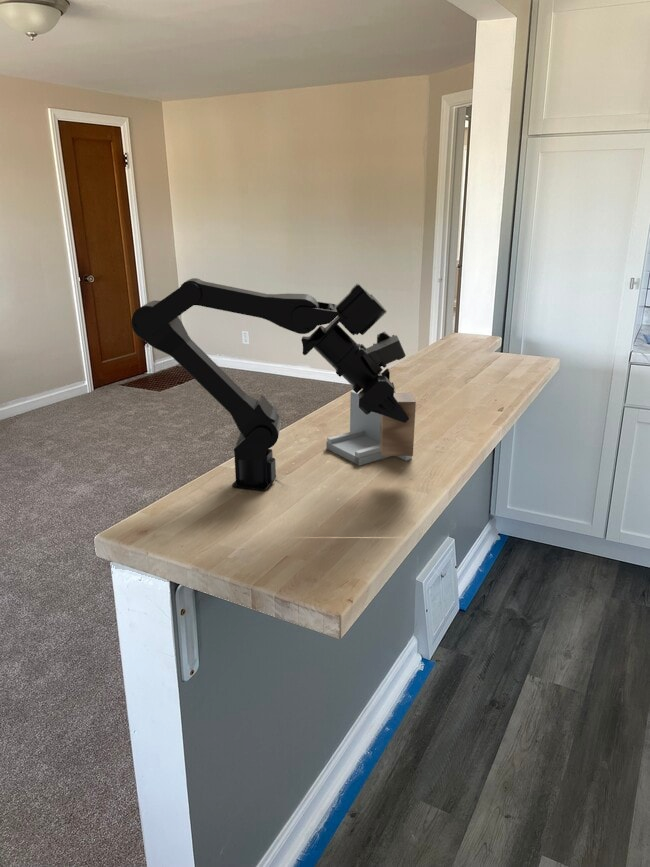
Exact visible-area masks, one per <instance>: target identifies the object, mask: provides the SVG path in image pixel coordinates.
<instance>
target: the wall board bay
mask: <svg viewBox="0 0 650 867" xmlns="http://www.w3.org/2000/svg"><path fill="white" fill-rule="evenodd" d="M360 391H361V390H360ZM360 391H359V392H360ZM359 392H358V393H359ZM358 393H356V392H355V391H354V390H351V391H350V401H349V402H350V406H349V407H350V409H349V410H350V413H349V414H350V415H349V416H350V418H349V431H348V432H345V433H341V434H337V435H334V436H329V437H327V439H326V444H325V445H326V446H325V447H326V449H327V450H328V451H330V452H331V453H334V454H335V455H338V456H340V457H343V459H346V460H348V461H350V462H351V463H353V464H356V465H357V466H359V467H360V466H362V465H366V464H370V463H373V462H376V461H380V460H383V459H387V458H389V457H390V458H391V456H382V455H381V450H380V445H379V443H380V414H378V413H375V412H370V413H369V414H367V415H366V414H365V413H364V412H363V411H362V410H361V409H360V408H359V406H358ZM396 457H397V458H399V459H401V460H404V461H405V462H407V461H409V460H412V459H413V456H396Z"/></svg>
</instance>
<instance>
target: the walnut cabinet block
mask: <svg viewBox="0 0 650 867" xmlns="http://www.w3.org/2000/svg"><path fill="white" fill-rule="evenodd" d="M394 397H395V398H396V400H397V401H398V403H399V404H400V406H401V407H402V409H403V410H404V411H405V413H406V414H407V416H408V417H409V420H408V421H407V422H405V423H404V422H401V421H398V420H395V419H393V418H390V417H387V416H384V415H381V414H380V443H379V445H380V450H381V455H382V456H390V457H397V456H412V457H413V456H414V443H415V442H414V441H415V440H414V439H415V424H416V409H417V408H416V406H417V402H416V399H415V397H414V394H413V392H396V393H394Z"/></svg>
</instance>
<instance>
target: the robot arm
mask: <svg viewBox="0 0 650 867" xmlns="http://www.w3.org/2000/svg"><path fill="white" fill-rule="evenodd" d="M194 306H198V307H204V308H209V309H215V310H217V311H218V310H219V311H223V312H224V311H225V312H230V313H235V314H240V315H244V316H249V317H254V318H255V317H256V318H259V319H263V320H266V321H269V322H270V323H272V324H274V325H277V326H278V327H280V328H282V329H285V330H287V331H290V332H293V333H295V334H299V335H303V336H302V337H301V343H302V355H303V356H307V355H308V354H309V353H310V352H311V351H312V350H313V349H314V350H315V351H316V352H318V354H319V355H321V357H322V358H324V360H325V361H326V362H327V363H328V364H330V365H331V367H332V368H333V369H334V370H335V374H336V375H337V376H339V377H340V378H341V377H342V378H344V379H345V380H346V382H348V383H349V384H350V385H351V386H352V391H355V392H356V393H358V392H359V391H360V392H359V393H358V406H359V408H360V409H361V410H362V411H363V412H364V413H365V414H366V415H367V414H369V413H370V412H375V413H378V414H381V415H384V416H387V417H390V418H393V419H395V420H398V421H401V422H404V423H405V422H407V421H408V420H409V417H408V416H407V414H406V413H405V411H404V410H403V409H402V407H401V406H400V404H399V403H398V401H397V400H396V398H395V397H394V393H397V392H396V391H395V385H394V382H391V380H390V377H391V376H390V370H389V368H387V365H388V364H391V363H393V362H395V361H401V360H402V359H404V358H405V357H406V353H405V351H404V348H403V346H402V343H401V341H400V339H399V336H398V335H395V334H391V335H389V334H388V333H387V332H386V331H383V332H380V333H378V334H377V335H376V343H374V342H373V343H372V345H371V346H369V347H366V346H364V344H363V343H361V344H360V343H357V342H356V341H355V340H354V338H352V337H351V336H350V335H349V334H348V332H349V333H350V334H351V335H352V336H355V335H356V336H358V335H359V334H360V335H361V336H363V335H365V334H366V333H367V332H368V331H369V330H370V329H371V328H372V327H373V326H374V325H375V324H376V323H377V322H378V321H379V320H380V319H381V318H382V317H383V316H385V314H387V309H386V308H385V307H384V306H383V305H382V304H381V303H380V302H379V300H378V299H377V298H376V297H375V296H374V295H373V294H372V293H371V294H370V293H369V291H367V289H365V288H363V286H361V284H360V283H355V285H354V286H353V287H352V288H351V289H350V291H349V293H347V295H346V296H345V297H343V299H341V300H340V301H339V303H331V302H323V301H317V299H316V298H315V297H314V296H313V295H310V294H307V293H275V294H273V293H264V292H259V291H253V290H249V289H244V288H239V287H235V286H228V285H226V284H225V285H224V284H223V285H222V284H218V283H214V282H209V281H205V280H201V279H200V278H197V277H195V278H193V277H192V278H190V279H188V280H186V281H185V282H183V283H182V284H180V286H179V287H178V288H177V289H175V290H174V291H172V292H171V293H170V294H169V295H167V296H166V297H164V298H163V299H161V300H151V301H149V302H147V303H146V304H144V305H142V306H140V307H138V308H137V309H136V310H135V311H134V312H133V313H132V315H131V316H132V317H131V328H132V331H133V333H134V334H135V335H136V336H137V337H138V338H139V339H141V340H143V341H144V342H145V343H147V344H148V345H149V346H151V347H152V348H153V349H155V350H158V351H160V352H162V353H164V354H167V355H168V356H170V357H171V358H172V359H174V361H176V362H177V363H178V364H179V365H180V366H181V367H182V368H183V370H185V371H186V372H187V373H188V374H189V375H190V376H191V377H192V378H193V379H194V380H195V381H196V382H197V383H198V384H200V386H201V387H202V388H203V389H204V390H206V392H207V393H208V394H209V395H210V396H212V397H213V398H214V399H215V400H216V402H218V403H219V404H220V405H221V406H222V407H223V408H224V409H225V410H226V411H227V412H228V413H229V414H230V416H231V417H232V420H233V421H234V424H235V425H236V427H237V429H238V432H239V434H238V437H237V439H236V443H235V445H234V448H233V453H234V454H233V456H234V472H235V474H234V475H235V481H233V482H232V484H231V485H232V488H238V489H245V490H247V489H248V490H253V491H255V490H256V491H264V492H265V491H266V490H268V489H269V487H270V486H271V484H273V483H274V481H275V480H276V478H277V472H276V468H277V466H276V459H275V457H273V448H272V447H274V446H275V444H276V443H277V442H278V439H279V436H280V431H281V426H282V425H281V423H282V422H281V421H282V420H281V417H280V416H279V414H278V410H279V408H278V407H275V406H273V405H272V404H271V403H270V402H269V401H268V399H267V398H266V397H265V396H264V395H263V394H261V395H260V396H259V397H258V399H257V398H254V397H252V396H250V395H248V394H247V393H246V392H245V391H243V389H242V388H240V386H238V384H237V383H236V382H234V380H233V378H232V379H231V377H230V376H229V375H227V373H226V372H225V371H224V370H223V369H221V367H220V366H219V365H218V364H217V363H216V362H215V361H213V360H212V358H211V357H210V356H209V355H208V354H207V353H206V352H205V351H204V350H202V348H201V347H199V346H198V344H196V342H195V341H193V339H191V337H190V336H189V334H188V332H187V330H186V328H185V326H184V324H183V322H182V321H181V319H180V318H179V316H181V315H182V314H183V313H185V312H187V311H188V310H189V309H190V308H192V307H194ZM339 323H340V324H341V325H342V326H343V327H344V329H345V330H347V331H348V332H346V331H345V330H344V329H343V327H341V326H340V325H339ZM327 324H328V325H327ZM323 325H327V326H323ZM318 326H319V327H318ZM315 329H316V330H315ZM314 330H315V331H314ZM312 331H313V332H312ZM310 333H311V334H310ZM306 334H310V335H308V336H305V335H306ZM382 367H383V368H382ZM384 368H386V369H385V370H383V369H384ZM382 371H383V372H382ZM271 448H272V449H271Z"/></svg>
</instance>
